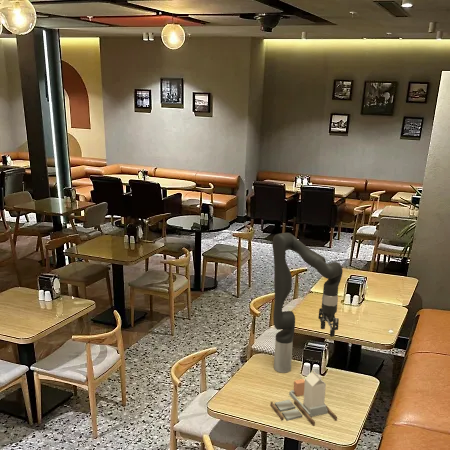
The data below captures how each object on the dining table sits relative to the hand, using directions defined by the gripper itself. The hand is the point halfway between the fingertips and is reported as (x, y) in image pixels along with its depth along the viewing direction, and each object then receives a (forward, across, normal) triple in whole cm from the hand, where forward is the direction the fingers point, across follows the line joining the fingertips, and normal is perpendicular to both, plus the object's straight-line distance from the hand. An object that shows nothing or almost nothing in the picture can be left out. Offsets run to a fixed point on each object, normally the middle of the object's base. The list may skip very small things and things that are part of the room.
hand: (327, 332), depth 239 cm
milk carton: (+30, +15, -15) cm, 37 cm away
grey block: (+30, +10, -15) cm, 35 cm away
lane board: (+30, +16, -21) cm, 40 cm away
